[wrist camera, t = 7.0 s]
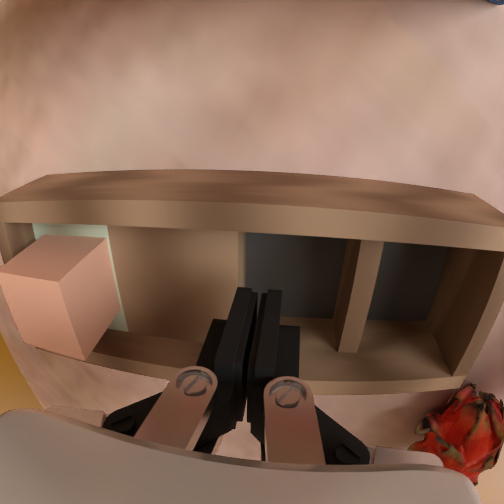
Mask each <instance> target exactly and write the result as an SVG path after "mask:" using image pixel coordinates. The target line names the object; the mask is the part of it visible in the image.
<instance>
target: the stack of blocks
mask: <svg viewBox="0 0 504 504" xmlns="http://www.w3.org/2000/svg"><path fill="white" fill-rule="evenodd" d="M488 1H491V2H493V3H495V4H498V5H503V4H504V0H488Z"/></svg>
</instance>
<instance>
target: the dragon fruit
mask: <svg viewBox="0 0 504 504" xmlns="http://www.w3.org/2000/svg"><path fill="white" fill-rule="evenodd" d="M475 388H476V384H473V383H471V385H470V386H466V387H465V388H464V389H463V390H462V389H461V391H460V392H457V393H454V394H453V395H452V396H451V397H450V398H449V400H448V402H447V405H448V403H449V402H450V400H451V399H452V398H453V400H452V401H451V403H452V405H451V406H450V407H449V408H448V409H447V410H446V411H445V412H444V413H443V414H442V415H439V414H437V413H435V412H432V411H430V412H429V413H428V414H427V415H426V416H425V417H424V418H423V419H422V420H421V421H420V423H419V425H418V427H417V429H416V431H415V434H424V437H425V438H424V440H423V441H420V442H415V443H413V444H412V445H411V446H410V447H409V448H408V449H407V450H408V451H417V452H427V453H431V454H435V455H436V456H437V457H439V458H440V460H441V461H442V463H443V467H444V468H448V469H452V470H454V471H457V472H459V473H462V474H463V475H465V476H466V477H468V478H469V479H470V481H471V482H472V483H473V485H474V486H476V485H477V484H478V481H477V478H478V475H479V474H480V473H481V472H483V471H484V470H487V469H491V468H492V467H494V466H495V464H496V463H497V460H498V458H499V454H500V451H501V448H502V445H503V442H504V405H503V402H502V400H501V399H500V402H499V401H498V400H497V399H496V398H495V396H494V395H493V394H490V393H489V394H488V393H483V392H481V391H479V395H480V396H481V397H476V391H475Z"/></svg>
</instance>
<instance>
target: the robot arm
mask: <svg viewBox="0 0 504 504" xmlns="http://www.w3.org/2000/svg"><path fill="white" fill-rule="evenodd" d="M257 301H258V292H253V290H252V288H247V287H237V290H236V293H235V296H234V299H233V303H232V306H231V309H230V312H229V315H228V318H227V320H223V319H213V320H212V323H211V325H210V328H209V331H208V333H207V336H206V339H205V341H204V344H203V347H202V350H201V352H200V355H199V358H198V360H197V363H196V366H189V367H186V368H183V369H181V370H179V371H178V372H176V373H175V375H174V376H173V377H172V379H171V380H170V382H169V383H168V385H167V386H166V388H165V389H164V391H163V392H160V393H158V394H156V395H153V396H151V397H149V398H146V399H144V400H141V401H139V402H136V403H134V404H131V405H129V406H126V407H124V408H121V409H119V410H116V411H114V412H113V413H111V414H110V415H109V414H105V412H104V411H95V410H86V409H77V408H69V407H62V406H53V407H50V408H47V409H46V410H39V409H14V410H9V411H6V412H4V413H3V414H1V415H0V504H482V503H481V500H480V498H479V495H478V492H477V490H476V488H475V486H474V485H473V483H472V482H471V481H470V479H469V478H468V477H466V476H465V475H463V474H462V473H459V472H457V471H454V470H452V469H448V468H444V467H443V463H442V461H441V460H440V458H439V457H437V456H436V455H435V454H431V453H427V452H417V451H408V450H400V449H392V448H385V447H379V446H377V447H376V448H375V449H373V448H367V447H366V446H365V445H364V444H363V443H362V442H361V441H360V440H359V439H357V438H356V437H355V436H353V435H352V434H351V433H350V432H348V431H347V430H346V429H344V428H343V427H342V426H340V425H339V424H338V423H337V422H335V421H334V420H333V419H332V418H330V417H329V416H328V415H327V414H325V413H324V412H323V411H322V410H320V409H319V408H318V407H317V406H315V405H314V399H313V394H312V391H311V388H310V387H309V385H308V384H307V383H306V382H304V381H303V380H301V379H299V357H300V326H288V325H280V314H281V302H282V290H271V289H268V292H267V293H262V295H261V300H260V305H259V311H258V316H257ZM246 400H247V422H249V423H251V433H252V434H253V435H254V436H255V438H256V439H257V440H258V441H259V442H260V461H256V460H247V459H239V458H232V457H225V456H218V455H216V452H217V450H218V448H219V445H220V443H221V441H222V435H224V434H225V433H227V432H229V431H231V430H232V429H235V427H236V422H237V421H241V422H242V421H243V416H244V411H245V405H246Z"/></svg>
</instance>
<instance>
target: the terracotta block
mask: <svg viewBox="0 0 504 504" xmlns="http://www.w3.org/2000/svg"><path fill="white" fill-rule="evenodd" d="M0 285H1V288H2V291H3V294H4V296H5V299H6V302H7V304H8V307H9V309H10V312H11V314H12V317H13V319H14V322H15V324H16V326H17V329H18V331H19V333H20V335H21V338H22V340H23V342H24V343H27V344H30V345H33V346H36V347H39V348H42V349H45V350H49V351H52V352H55V353H59V354H62V355H66V356H69V357H73V358H77V359H80V360H84V361H86V359H87V358H88V356H89V355H90V353H91V352H92V350H93V349H94V347H95V346H96V344H97V343H98V341H99V340H100V339H101V337H102V336H103V334H104V333H105V331H106V330H107V328H108V327H109V325H110V324H111V323H112V321H113V320H114V318H115V317H116V315H117V314H118V313H119V311H120V310H121V307H120V302H119V298H118V294H117V289H116V284H115V280H114V275H113V270H112V264H111V259H110V254H109V248H108V242H107V238H103V237H86V236H68V235H51V234H45V235H43V236H42V237H41V238H39V239H38V240H36V241H35V242H34V243H32V244H31V245H30V246H28V247H27V248H25V249H24V250H23V251H21V252H20V253H19V254H17V255H16V256H15V257H13V258H12V259H11V260H10V261H8V262H7V263H6V264H4V265H3V266H2V267H1V268H0Z"/></svg>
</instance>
